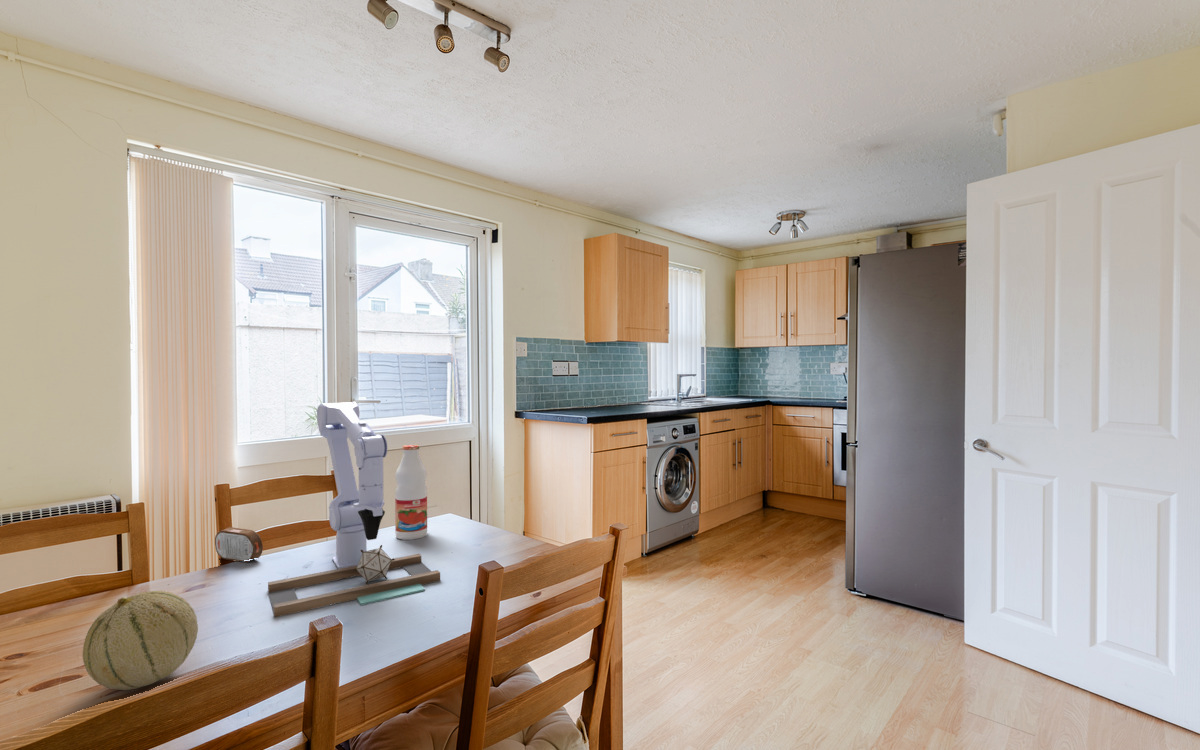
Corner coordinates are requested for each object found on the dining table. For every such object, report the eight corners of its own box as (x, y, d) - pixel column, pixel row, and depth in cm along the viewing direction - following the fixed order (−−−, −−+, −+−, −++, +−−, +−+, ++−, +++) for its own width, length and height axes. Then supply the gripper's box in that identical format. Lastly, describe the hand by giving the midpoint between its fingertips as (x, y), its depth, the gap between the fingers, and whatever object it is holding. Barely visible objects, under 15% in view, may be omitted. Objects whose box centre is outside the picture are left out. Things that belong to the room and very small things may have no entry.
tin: (263, 561, 151) (263, 530, 151) (253, 565, 148) (253, 533, 148) (223, 555, 156) (223, 525, 156) (212, 559, 153) (212, 528, 153)
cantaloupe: (219, 665, 98) (218, 580, 97) (128, 716, 83) (127, 616, 83) (155, 654, 101) (154, 572, 101) (58, 700, 87) (57, 605, 87)
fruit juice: (423, 529, 180) (422, 442, 180) (430, 537, 172) (430, 446, 172) (392, 534, 175) (391, 444, 175) (398, 542, 167) (398, 448, 167)
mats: (268, 593, 129) (268, 592, 129) (421, 563, 149) (421, 562, 149) (273, 613, 118) (273, 612, 118) (437, 578, 138) (437, 576, 138)
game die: (380, 597, 136) (391, 570, 132) (345, 588, 134) (355, 560, 129) (391, 567, 144) (401, 541, 139) (357, 558, 142) (367, 532, 137)
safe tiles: (339, 571, 143) (339, 569, 143) (396, 560, 151) (396, 559, 151) (360, 605, 122) (360, 603, 122) (424, 590, 130) (424, 588, 130)
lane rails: (268, 590, 131) (268, 582, 131) (419, 561, 150) (419, 553, 150) (274, 617, 117) (274, 607, 117) (440, 580, 136) (440, 572, 136)
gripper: (348, 481, 143) (348, 534, 143) (360, 491, 131) (360, 549, 131) (377, 478, 147) (377, 529, 147) (391, 487, 135) (391, 544, 135)
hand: (371, 538), depth 139 cm, fingers closed
